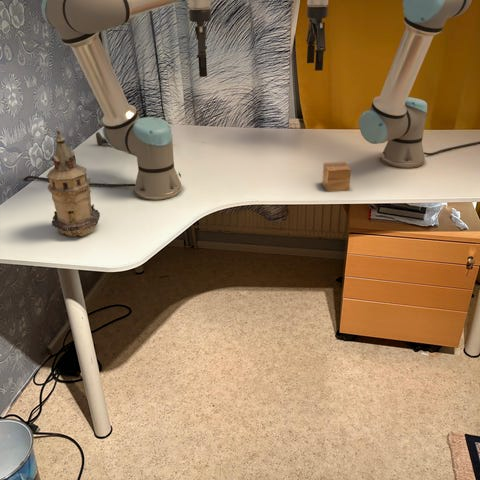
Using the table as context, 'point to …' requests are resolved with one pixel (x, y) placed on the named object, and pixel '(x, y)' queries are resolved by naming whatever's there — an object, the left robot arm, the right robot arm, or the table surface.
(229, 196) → the table surface
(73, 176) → the miniature building
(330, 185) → the block
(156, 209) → the table surface
